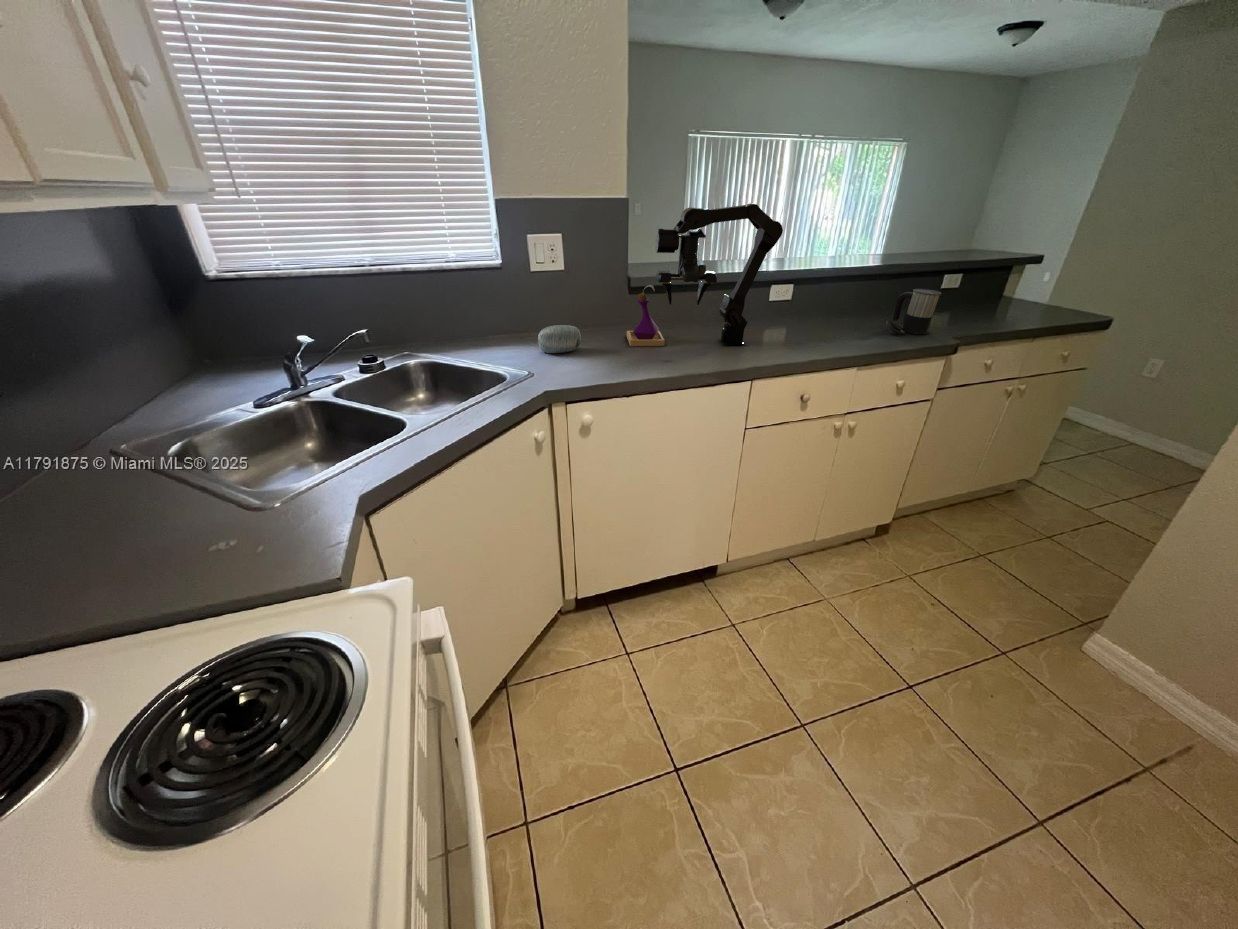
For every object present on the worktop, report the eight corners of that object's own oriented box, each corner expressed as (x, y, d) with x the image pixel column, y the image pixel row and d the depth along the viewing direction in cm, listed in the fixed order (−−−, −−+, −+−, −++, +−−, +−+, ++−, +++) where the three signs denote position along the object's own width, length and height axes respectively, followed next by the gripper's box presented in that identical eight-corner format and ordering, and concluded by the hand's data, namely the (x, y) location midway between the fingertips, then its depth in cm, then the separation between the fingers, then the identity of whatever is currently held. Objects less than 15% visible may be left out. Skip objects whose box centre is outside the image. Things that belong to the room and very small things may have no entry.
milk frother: (928, 330, 186) (942, 290, 179) (925, 340, 175) (940, 297, 167) (888, 324, 193) (899, 285, 185) (882, 333, 181) (894, 292, 174)
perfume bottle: (632, 341, 165) (634, 286, 156) (637, 335, 172) (639, 282, 162) (654, 343, 164) (657, 287, 154) (658, 337, 170) (661, 283, 161)
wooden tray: (658, 336, 173) (659, 330, 172) (664, 345, 163) (664, 340, 162) (626, 336, 172) (626, 330, 171) (630, 346, 162) (630, 340, 161)
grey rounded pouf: (579, 334, 161) (574, 311, 152) (586, 355, 156) (580, 332, 148) (540, 345, 161) (532, 323, 152) (545, 366, 156) (537, 344, 147)
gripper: (663, 256, 144) (659, 310, 152) (724, 257, 145) (718, 310, 153) (657, 251, 154) (654, 302, 161) (715, 252, 155) (709, 302, 163)
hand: (684, 304), depth 160 cm, fingers open, 9 cm apart
